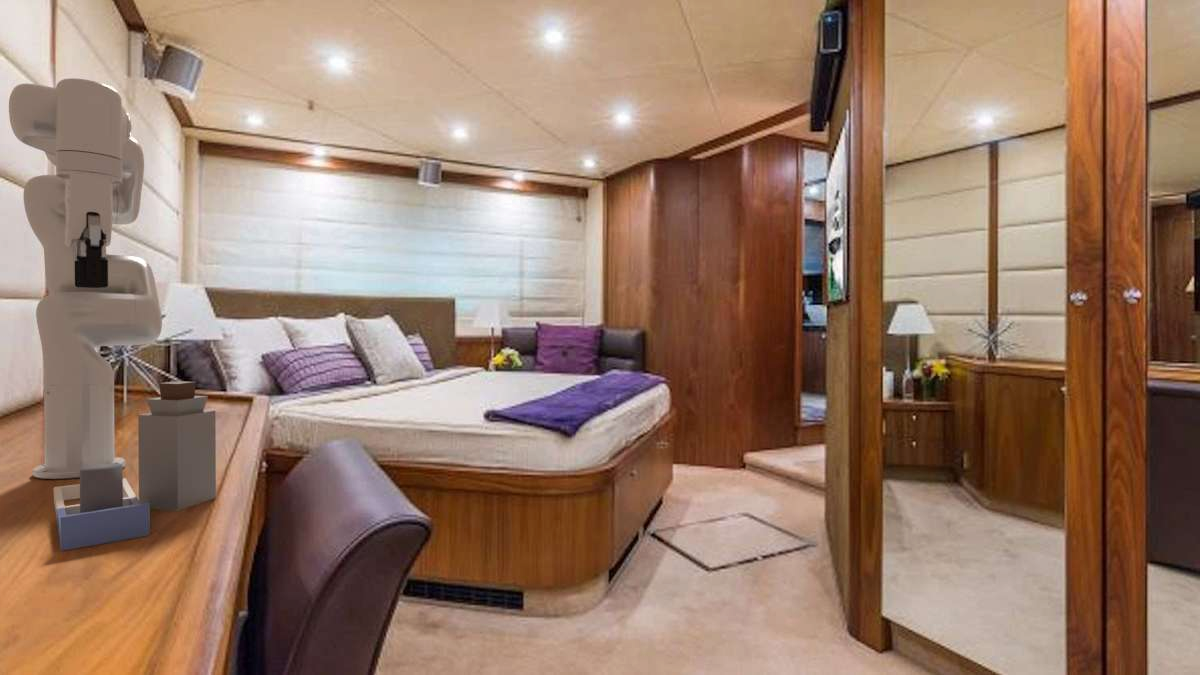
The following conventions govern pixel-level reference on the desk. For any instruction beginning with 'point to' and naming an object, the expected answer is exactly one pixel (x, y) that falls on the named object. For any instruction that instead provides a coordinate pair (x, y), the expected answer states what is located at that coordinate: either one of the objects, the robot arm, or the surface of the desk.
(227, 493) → the desk surface
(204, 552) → the desk surface
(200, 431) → the perfume bottle
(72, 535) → the blue-fronted open tray
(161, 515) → the desk surface
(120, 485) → the grey two-tone upright block
